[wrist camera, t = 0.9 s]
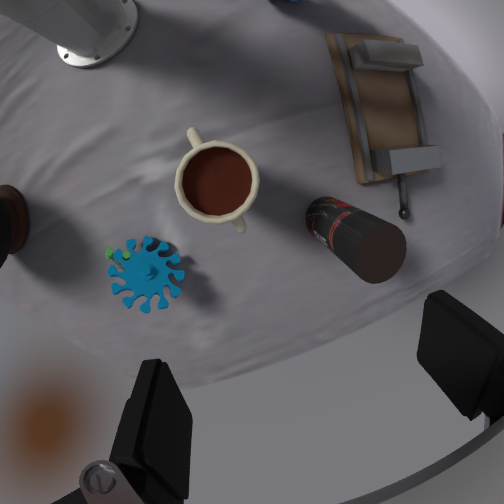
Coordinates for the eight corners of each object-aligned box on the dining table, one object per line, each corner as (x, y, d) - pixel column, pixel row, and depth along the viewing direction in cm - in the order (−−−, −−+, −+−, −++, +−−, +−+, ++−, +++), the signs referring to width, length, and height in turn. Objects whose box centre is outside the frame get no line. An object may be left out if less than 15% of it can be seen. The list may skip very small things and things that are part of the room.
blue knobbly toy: (199, 261, 37) (160, 327, 31) (190, 275, 42) (156, 333, 36) (130, 216, 35) (85, 275, 30) (129, 236, 40) (91, 289, 35)
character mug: (261, 198, 37) (283, 221, 24) (211, 223, 37) (209, 258, 25) (223, 122, 33) (227, 105, 21) (172, 149, 33) (148, 146, 21)
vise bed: (325, 35, 30) (343, 18, 24) (397, 40, 30) (421, 29, 24) (357, 182, 37) (380, 189, 31) (424, 171, 38) (451, 176, 32)
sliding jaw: (368, 149, 35) (389, 150, 30) (416, 144, 35) (439, 145, 30) (377, 223, 38) (397, 233, 33) (422, 212, 39) (443, 220, 34)
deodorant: (296, 220, 38) (341, 260, 24) (324, 187, 37) (383, 209, 23) (326, 246, 40) (377, 294, 26) (352, 215, 39) (415, 249, 25)
